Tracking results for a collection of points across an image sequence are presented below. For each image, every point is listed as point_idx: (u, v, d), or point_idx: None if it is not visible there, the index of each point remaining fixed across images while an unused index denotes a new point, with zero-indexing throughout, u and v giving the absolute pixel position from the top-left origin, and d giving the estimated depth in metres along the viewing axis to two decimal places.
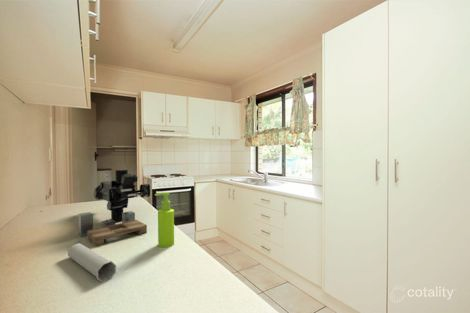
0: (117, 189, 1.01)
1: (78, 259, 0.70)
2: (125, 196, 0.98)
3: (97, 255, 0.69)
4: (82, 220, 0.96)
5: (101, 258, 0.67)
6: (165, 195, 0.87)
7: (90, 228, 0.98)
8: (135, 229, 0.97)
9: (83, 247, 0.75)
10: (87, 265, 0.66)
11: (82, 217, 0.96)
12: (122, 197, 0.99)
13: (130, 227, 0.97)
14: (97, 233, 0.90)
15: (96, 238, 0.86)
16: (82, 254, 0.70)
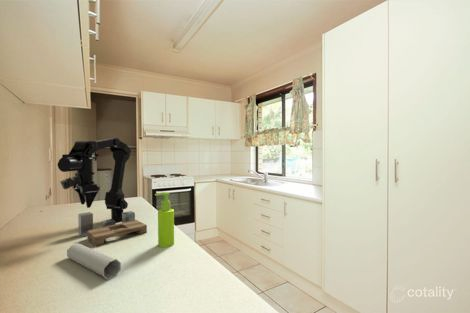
0: (75, 190, 1.01)
1: (80, 259, 0.70)
2: None
3: (100, 254, 0.69)
4: (82, 220, 0.96)
5: (105, 256, 0.68)
6: (165, 195, 0.87)
7: (90, 228, 0.98)
8: (135, 229, 0.97)
9: (83, 247, 0.75)
10: (91, 264, 0.67)
11: (82, 217, 0.96)
12: None
13: (130, 227, 0.97)
14: (97, 233, 0.90)
15: (96, 238, 0.86)
16: (84, 254, 0.71)
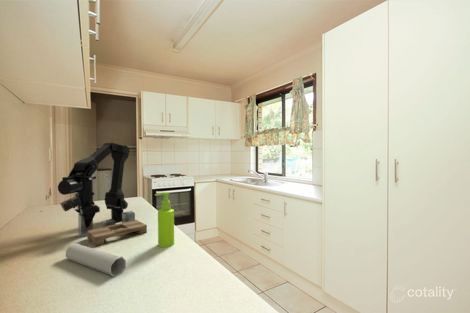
0: (76, 211, 1.00)
1: (82, 258, 0.71)
2: None
3: (103, 253, 0.70)
4: (82, 220, 0.96)
5: (109, 255, 0.69)
6: (165, 195, 0.87)
7: (90, 228, 0.98)
8: (135, 229, 0.97)
9: (83, 247, 0.75)
10: (95, 263, 0.67)
11: (82, 217, 0.96)
12: None
13: (130, 227, 0.97)
14: (97, 233, 0.90)
15: (96, 238, 0.86)
16: (86, 253, 0.71)
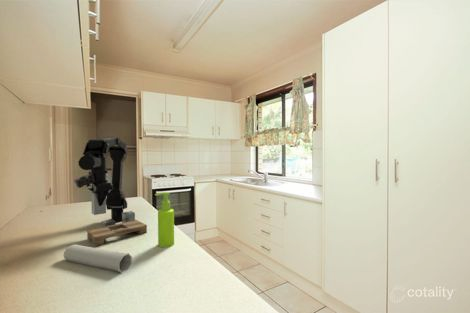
0: (89, 189, 0.99)
1: (84, 258, 0.71)
2: None
3: (108, 251, 0.72)
4: (95, 198, 0.95)
5: (115, 252, 0.70)
6: (165, 195, 0.87)
7: (103, 206, 0.97)
8: (135, 229, 0.97)
9: (84, 247, 0.75)
10: (101, 261, 0.69)
11: (95, 195, 0.95)
12: None
13: (130, 227, 0.97)
14: (97, 233, 0.90)
15: (96, 238, 0.86)
16: (89, 253, 0.72)
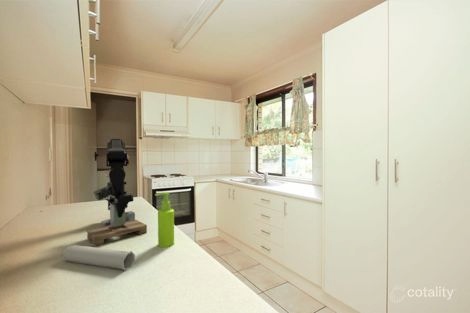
0: (108, 201, 0.98)
1: (86, 257, 0.71)
2: None
3: (110, 250, 0.72)
4: (115, 209, 0.94)
5: (118, 251, 0.71)
6: (165, 195, 0.87)
7: (122, 218, 0.96)
8: (135, 229, 0.97)
9: (84, 247, 0.75)
10: (104, 259, 0.69)
11: (115, 206, 0.94)
12: None
13: (130, 227, 0.97)
14: (97, 233, 0.90)
15: (96, 238, 0.86)
16: (90, 252, 0.72)
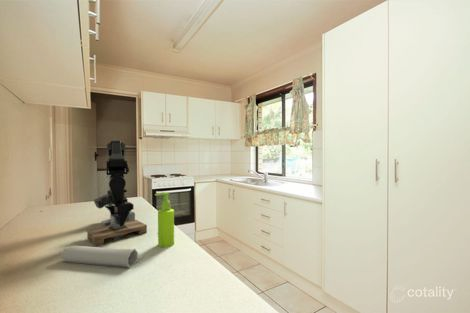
0: None
1: (88, 257, 0.72)
2: None
3: (112, 248, 0.73)
4: (115, 221, 0.94)
5: (120, 249, 0.73)
6: (165, 195, 0.87)
7: None
8: (135, 229, 0.97)
9: (84, 247, 0.75)
10: (107, 258, 0.70)
11: (115, 218, 0.94)
12: None
13: (130, 227, 0.97)
14: (97, 233, 0.90)
15: (96, 238, 0.86)
16: (92, 252, 0.72)
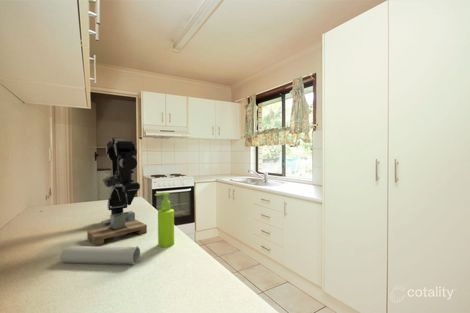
0: (114, 188, 1.05)
1: (90, 256, 0.72)
2: None
3: (114, 247, 0.74)
4: (115, 221, 0.94)
5: (123, 247, 0.74)
6: (165, 195, 0.87)
7: None
8: (135, 229, 0.97)
9: (84, 247, 0.75)
10: (110, 256, 0.71)
11: (115, 218, 0.94)
12: None
13: (130, 227, 0.97)
14: (97, 233, 0.90)
15: (96, 238, 0.86)
16: (94, 251, 0.73)
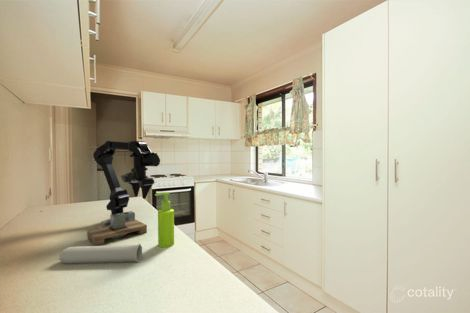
0: None
1: (91, 256, 0.72)
2: None
3: (116, 246, 0.76)
4: (115, 221, 0.94)
5: (125, 246, 0.75)
6: (165, 195, 0.87)
7: None
8: (135, 229, 0.97)
9: (84, 247, 0.75)
10: (113, 255, 0.73)
11: (115, 218, 0.94)
12: None
13: (130, 227, 0.97)
14: (97, 233, 0.90)
15: (96, 238, 0.86)
16: (95, 250, 0.73)
